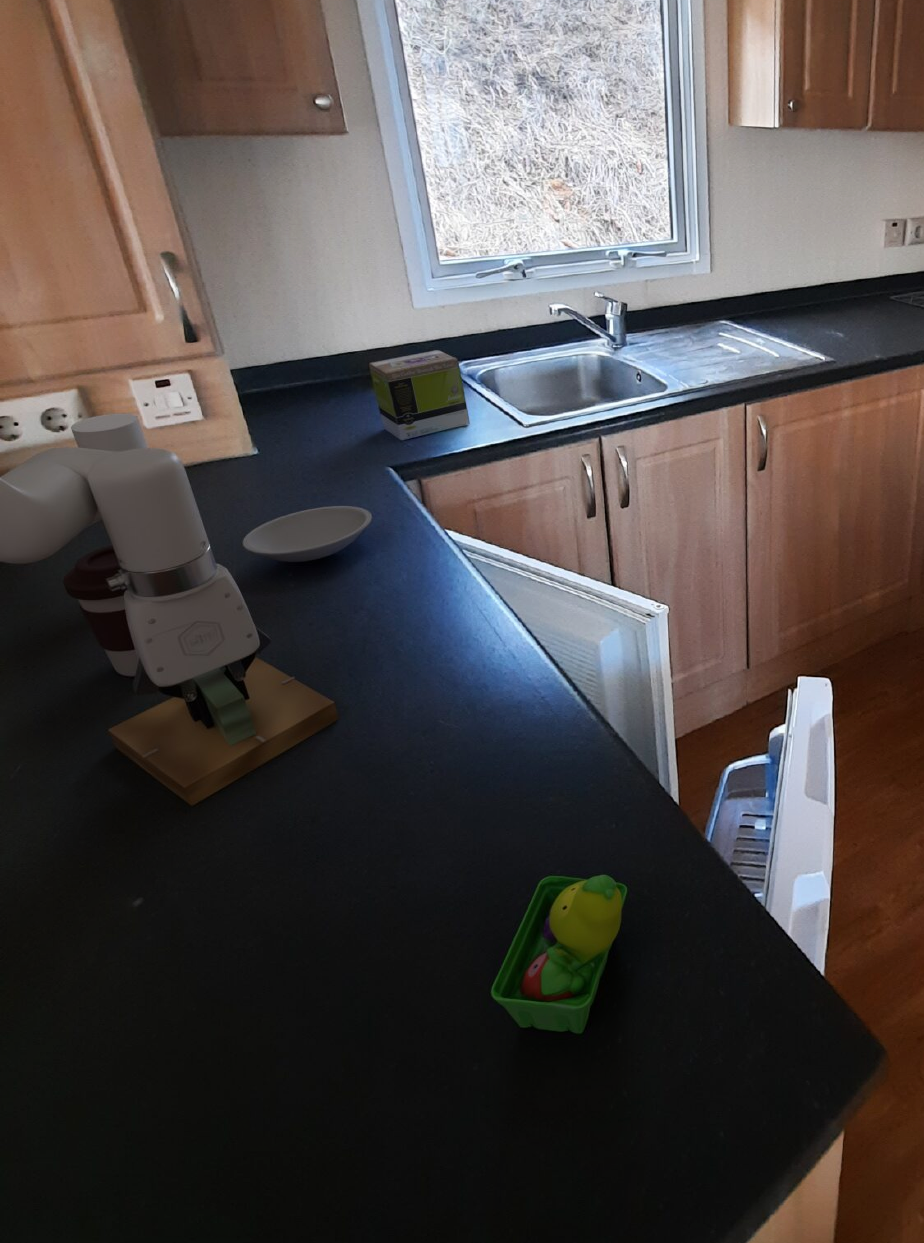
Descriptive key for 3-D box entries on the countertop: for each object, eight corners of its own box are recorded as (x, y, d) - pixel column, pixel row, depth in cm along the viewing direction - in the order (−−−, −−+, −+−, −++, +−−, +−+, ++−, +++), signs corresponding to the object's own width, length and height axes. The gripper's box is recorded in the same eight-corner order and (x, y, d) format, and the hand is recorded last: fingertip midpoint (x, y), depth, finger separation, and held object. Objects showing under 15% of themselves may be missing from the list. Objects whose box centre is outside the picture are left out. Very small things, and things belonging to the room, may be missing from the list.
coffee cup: (83, 673, 105) (37, 567, 99) (162, 631, 114) (124, 531, 107) (138, 693, 102) (94, 584, 96) (215, 648, 111) (180, 545, 104)
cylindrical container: (149, 604, 120) (85, 436, 108) (125, 589, 123) (60, 424, 112) (203, 582, 125) (147, 420, 114) (178, 569, 128) (122, 409, 117)
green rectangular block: (256, 733, 92) (243, 694, 90) (230, 746, 91) (215, 706, 88) (217, 686, 99) (204, 649, 97) (192, 697, 98) (177, 659, 95)
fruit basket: (548, 914, 76) (533, 820, 71) (647, 924, 75) (638, 829, 70) (495, 1041, 65) (473, 942, 60) (609, 1054, 65) (596, 955, 60)
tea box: (451, 413, 191) (439, 348, 184) (470, 425, 184) (459, 358, 178) (382, 429, 182) (367, 360, 175) (400, 442, 175) (385, 371, 169)
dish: (361, 524, 142) (354, 497, 140) (391, 556, 133) (385, 527, 130) (241, 557, 132) (232, 528, 130) (264, 595, 122) (255, 564, 120)
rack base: (191, 807, 86) (183, 787, 85) (113, 747, 94) (105, 728, 93) (340, 719, 99) (335, 700, 97) (261, 672, 106) (255, 655, 105)
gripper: (83, 616, 79) (148, 769, 87) (272, 554, 90) (313, 695, 98) (63, 587, 83) (126, 735, 92) (245, 531, 94) (287, 668, 103)
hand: (222, 713), depth 95 cm, fingers closed on green rectangular block, 2 cm apart
